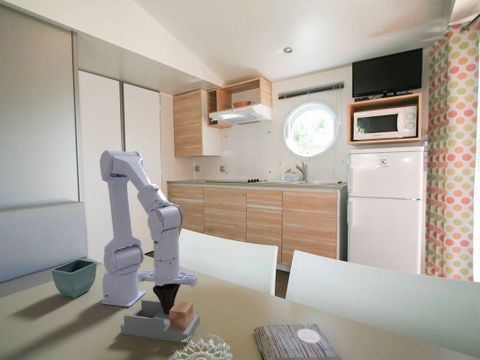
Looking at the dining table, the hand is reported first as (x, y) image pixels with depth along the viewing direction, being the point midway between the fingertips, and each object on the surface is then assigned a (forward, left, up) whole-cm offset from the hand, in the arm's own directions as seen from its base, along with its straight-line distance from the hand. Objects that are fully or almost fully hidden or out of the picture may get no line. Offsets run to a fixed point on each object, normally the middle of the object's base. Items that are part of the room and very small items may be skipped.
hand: (168, 311), depth 58 cm
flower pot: (-37, +10, -5) cm, 39 cm away
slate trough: (-1, 0, -4) cm, 5 cm away
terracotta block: (+3, 0, -2) cm, 4 cm away
